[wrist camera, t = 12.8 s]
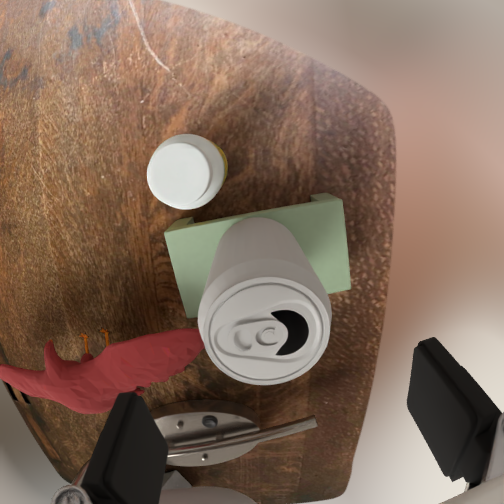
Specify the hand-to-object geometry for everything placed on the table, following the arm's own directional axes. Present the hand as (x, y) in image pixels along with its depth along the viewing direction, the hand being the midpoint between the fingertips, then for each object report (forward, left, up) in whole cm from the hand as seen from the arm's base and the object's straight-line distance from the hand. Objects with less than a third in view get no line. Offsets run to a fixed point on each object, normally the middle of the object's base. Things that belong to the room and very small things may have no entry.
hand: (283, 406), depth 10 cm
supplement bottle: (+4, -8, -22) cm, 23 cm away
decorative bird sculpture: (+19, +9, -22) cm, 30 cm away
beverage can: (0, 0, -17) cm, 17 cm away
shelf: (0, 0, -21) cm, 21 cm away
